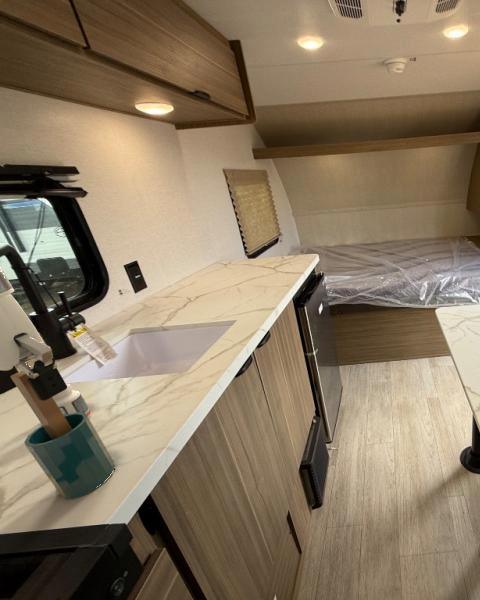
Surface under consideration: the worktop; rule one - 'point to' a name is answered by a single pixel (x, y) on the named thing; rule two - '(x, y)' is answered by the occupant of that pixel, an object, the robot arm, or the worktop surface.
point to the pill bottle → (71, 402)
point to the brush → (42, 408)
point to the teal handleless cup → (72, 457)
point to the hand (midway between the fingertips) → (32, 391)
